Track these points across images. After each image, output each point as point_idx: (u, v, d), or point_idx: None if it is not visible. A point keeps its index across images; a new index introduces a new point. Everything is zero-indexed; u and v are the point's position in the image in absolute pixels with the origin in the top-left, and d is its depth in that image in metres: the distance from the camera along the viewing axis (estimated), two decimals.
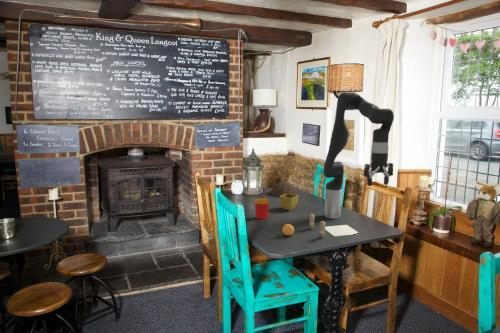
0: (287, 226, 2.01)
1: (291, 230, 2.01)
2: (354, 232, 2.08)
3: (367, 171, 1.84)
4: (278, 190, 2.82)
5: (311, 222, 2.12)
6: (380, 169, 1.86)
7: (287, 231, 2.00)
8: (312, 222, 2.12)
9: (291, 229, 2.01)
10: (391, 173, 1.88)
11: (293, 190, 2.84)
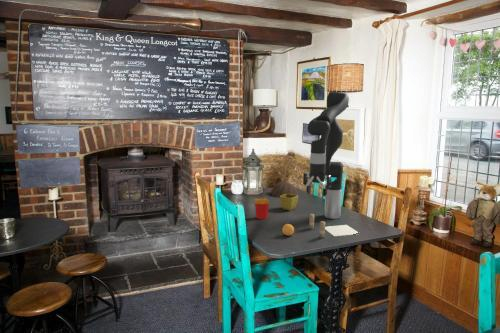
0: (287, 226, 2.01)
1: (291, 230, 2.01)
2: (354, 232, 2.08)
3: (304, 179, 1.95)
4: (278, 190, 2.82)
5: (311, 222, 2.12)
6: (316, 179, 1.91)
7: (287, 231, 2.00)
8: (312, 222, 2.12)
9: (291, 229, 2.01)
10: (327, 185, 1.88)
11: (293, 190, 2.84)
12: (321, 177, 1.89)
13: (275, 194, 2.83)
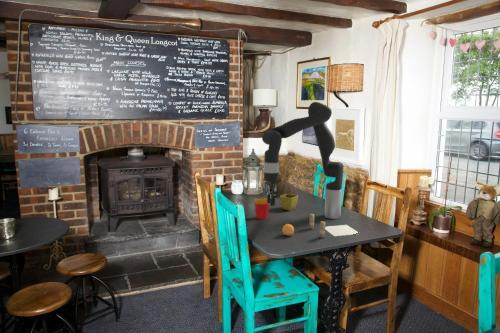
0: (287, 226, 2.01)
1: (291, 230, 2.01)
2: (354, 232, 2.08)
3: (265, 188, 2.02)
4: (279, 190, 2.82)
5: (311, 222, 2.12)
6: (269, 187, 1.96)
7: (287, 231, 2.00)
8: (312, 222, 2.12)
9: (291, 229, 2.01)
10: (271, 196, 1.93)
11: (294, 190, 2.84)
12: (270, 187, 1.94)
13: None
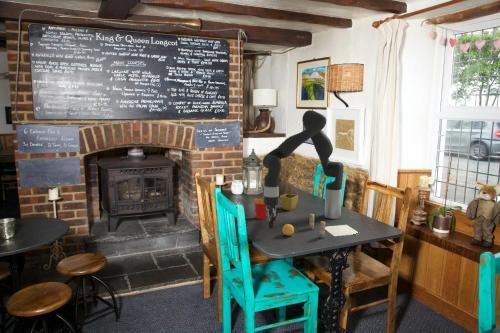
0: (287, 226, 2.01)
1: (291, 230, 2.01)
2: (354, 232, 2.08)
3: (266, 213, 2.03)
4: (279, 190, 2.82)
5: (311, 222, 2.12)
6: None
7: (287, 231, 2.00)
8: (312, 222, 2.12)
9: (291, 229, 2.01)
10: (270, 219, 1.97)
11: (294, 190, 2.84)
12: (270, 212, 1.96)
13: None
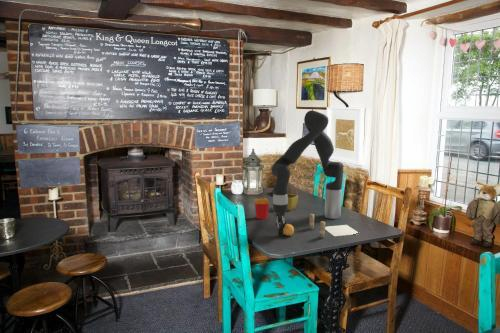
0: (287, 226, 2.01)
1: (291, 230, 2.01)
2: (354, 232, 2.08)
3: (275, 220, 2.06)
4: None
5: (311, 222, 2.12)
6: None
7: (287, 231, 2.00)
8: (312, 222, 2.12)
9: (291, 229, 2.01)
10: (279, 226, 2.00)
11: (294, 190, 2.84)
12: (279, 219, 1.99)
13: None
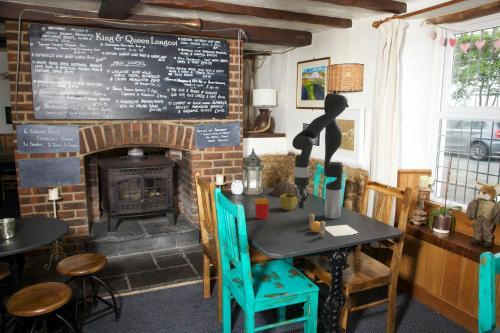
0: (316, 231, 2.06)
1: (318, 226, 2.05)
2: (354, 232, 2.08)
3: (296, 194, 2.06)
4: (279, 190, 2.82)
5: (311, 222, 2.12)
6: None
7: None
8: None
9: (317, 227, 2.05)
10: (300, 199, 2.00)
11: (294, 190, 2.84)
12: (301, 192, 1.99)
13: (276, 194, 2.83)
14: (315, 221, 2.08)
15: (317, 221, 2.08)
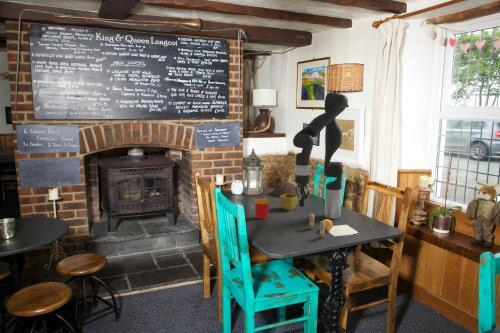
0: (328, 221, 2.09)
1: (331, 226, 2.10)
2: (354, 232, 2.08)
3: (296, 192, 2.05)
4: (279, 190, 2.82)
5: (311, 222, 2.12)
6: None
7: (328, 226, 2.09)
8: (312, 222, 2.12)
9: (332, 225, 2.10)
10: (301, 197, 1.99)
11: (295, 190, 2.84)
12: (301, 190, 1.99)
13: (276, 194, 2.83)
14: None
15: None
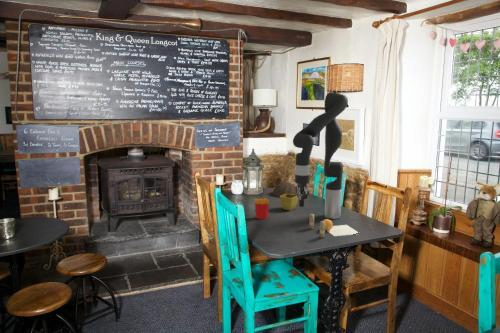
0: (328, 221, 2.09)
1: (331, 226, 2.10)
2: (354, 232, 2.08)
3: (296, 192, 2.05)
4: (280, 190, 2.82)
5: (311, 222, 2.12)
6: None
7: (328, 226, 2.09)
8: (312, 222, 2.12)
9: (332, 225, 2.10)
10: (301, 197, 1.99)
11: (295, 190, 2.83)
12: (301, 190, 1.99)
13: (276, 194, 2.83)
14: None
15: None
